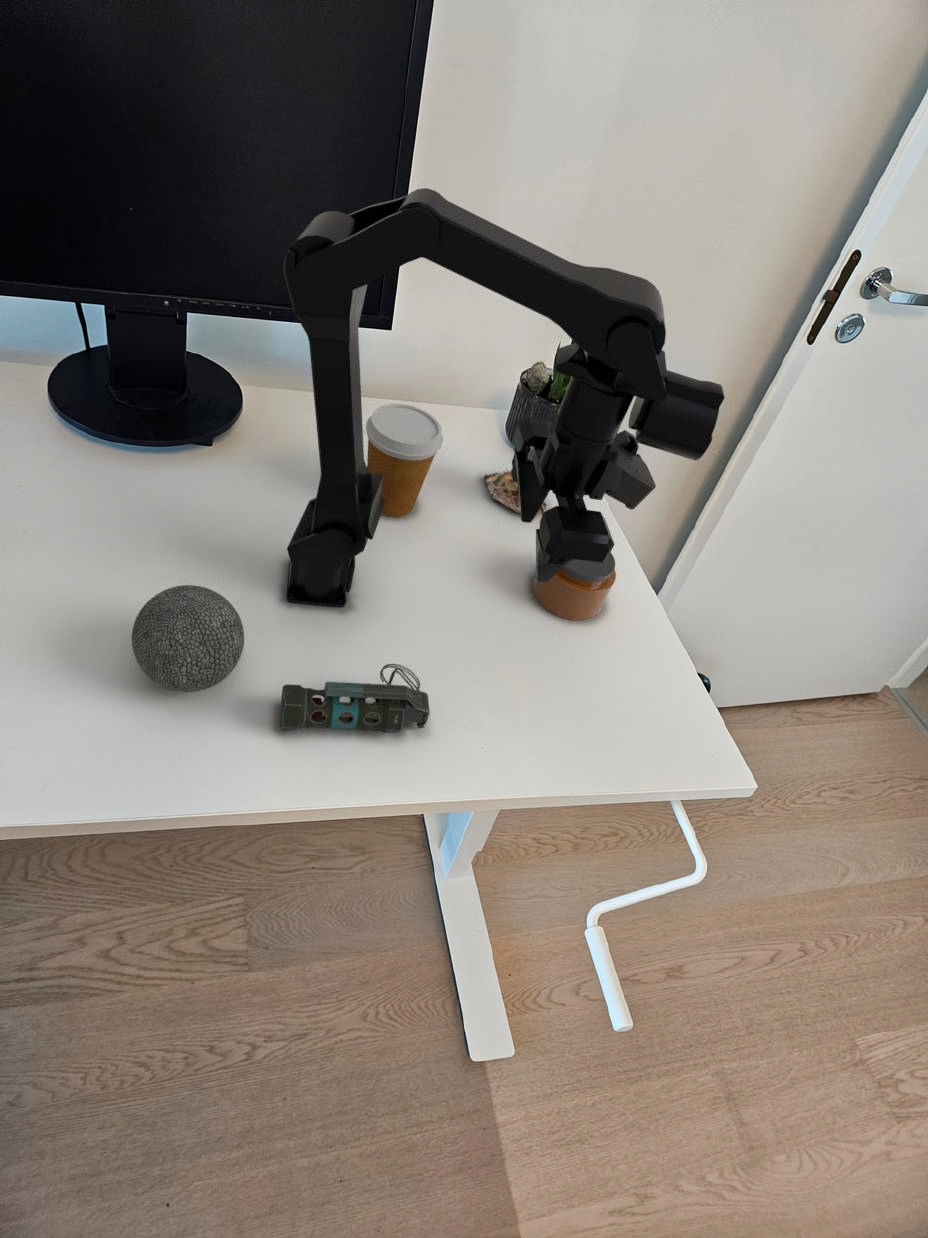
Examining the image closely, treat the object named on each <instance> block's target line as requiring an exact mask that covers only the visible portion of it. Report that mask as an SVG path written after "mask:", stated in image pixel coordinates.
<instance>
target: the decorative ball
mask: <svg viewBox="0 0 928 1238" xmlns="http://www.w3.org/2000/svg"><path fill="white" fill-rule="evenodd" d="M243 625H244V624H243V622H242V620H241V617H240V615H239V613H238V611H237V610H236V608H235V607H234V605H233V604H232V603H231V602H230V601H229V600H228V599H227V598H225V596H223V595H221V594H220V593H218V592H217V591H215V590H212V589H210V588H207V587H205V586H200V585H195V584H183V585H175V586H172V587H169V588H166V589H163V590H162V591H160V592H158V593H157V594H155V595H154V596H152V597H151V598H150V599H149V600H148V601H146V602H145V604H144V605H142V607H141V609H140V610H139V611H138V613H137V616H136V618H135V620H134V623H133V627H132V632H131V647H132V652H133V655H134V658H135V661H136V663H137V664H138V666H139V668H140V669H141V670H142V672H143V673H144V675H146V676H147V677H148V678H149V679H151V680H152V681H153V682H154V683H156V684H158V685H160V686H161V687H163V688H166V689H168V690H172V691H175V692H182V693H194V692H195V693H196V692H200V691H204V690H207V689H209V688H212V687H214V686H216V685H218V684H219V683H221V682H222V681H224V680H225V679H226V678H227V677H228V676H229V675H230V674H231V673H232V672H233V671H234V670H235V668H236V667H237V666H238V663H239V661H240V659H241V657H242V655H243V650H244V645H245V630H244V626H243Z"/></svg>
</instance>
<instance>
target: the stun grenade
mask: <svg viewBox="0 0 928 1238" xmlns="http://www.w3.org/2000/svg"><path fill="white" fill-rule="evenodd" d="M389 668H391V669H394V670H393V671H392V672H391V675H390V677H389V679H388V681H387V680H386V677H385V676H384V670H386V669H389ZM396 674H398V675H399V676H400V677H401V678H402V679H403V680H404V681H405V683H406V684H407V685H408V686H407V685H404V684H403V685H401V684H400V685H399V684H392V683H393V680H394V677H395V676H396ZM408 675H409V676H410V677H411V678H412V679H413V680H414V681H415V683H416V684H415V683H414V682H413V680H412V679H411V678H410V677H409V676H408ZM379 677H380V680H381V682H382V684H381V683H362V682H361V683H358V682H342V681H340V682H338V681H325V683H324V688H323V689H316V688H315V689H314V688H312V687H310V688H309V687H303V686H302V685H301V684H288V683H286V684H284V685H283V686H282V691H281V699H280V700H281V701H280V720H279V724H280V725H279V727H280V729H281V730H286V731H289V730H290V731H297V730H299V729H302V728H315V727H316V728H317V727H318V728H323V729H340V728H346V729H347V728H348V729H351V730H353V729H357V730H364V729H375V730H380V731H381V732H383V733H386V732H387V733H399V732H401V731H402V730H403V727H404V724H405V723H406V724H407V723H408V724H416V727H417V729H419V730H420V729H423V728H425V726H426V725H427V721H428V719H429V717H430V714H431V712H430V702H429V694H428V693H427V692H424V691H422V690H420V688H421V681H420V679H419V677H418V675H416V674H415V673H414V671H412V670H411V669H409V668H408V667H407V666H406V667H405V666H404V665H402V664H399V663H387V664H385V665H383V666H382V668H381V670H380V672H379ZM384 682H385V684H383V683H384ZM314 696H321V697H322V698H323V699H322V698H321V697H314ZM341 698H349V702H347V701H341ZM367 699H374V701H373V702H367ZM321 718H322V719H321ZM340 718H349V719H348V720H347V721H342V720H340ZM365 719H371V720H373V721H371V722H370V721H369V722H368V721H366V720H365Z"/></svg>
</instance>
